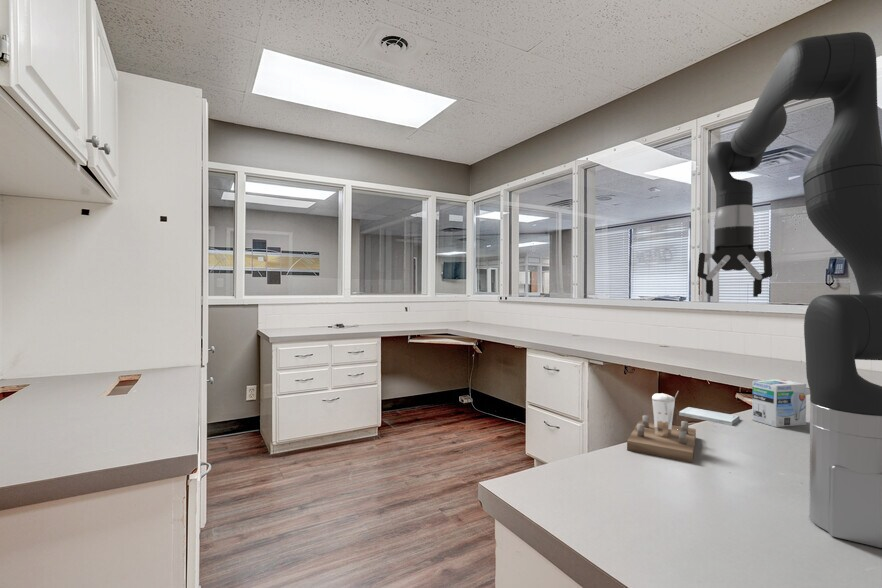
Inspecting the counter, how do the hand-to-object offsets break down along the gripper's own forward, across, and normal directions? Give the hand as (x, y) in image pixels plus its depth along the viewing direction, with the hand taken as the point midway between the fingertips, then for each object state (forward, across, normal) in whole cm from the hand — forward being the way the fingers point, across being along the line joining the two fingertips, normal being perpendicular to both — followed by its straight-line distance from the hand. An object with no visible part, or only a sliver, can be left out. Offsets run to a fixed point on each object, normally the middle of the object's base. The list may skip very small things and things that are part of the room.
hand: (732, 296), depth 98 cm
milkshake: (+31, -13, -14) cm, 36 cm away
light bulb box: (+34, +11, +22) cm, 42 cm away
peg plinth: (+33, -13, -14) cm, 38 cm away
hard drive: (+34, -4, +17) cm, 38 cm away
